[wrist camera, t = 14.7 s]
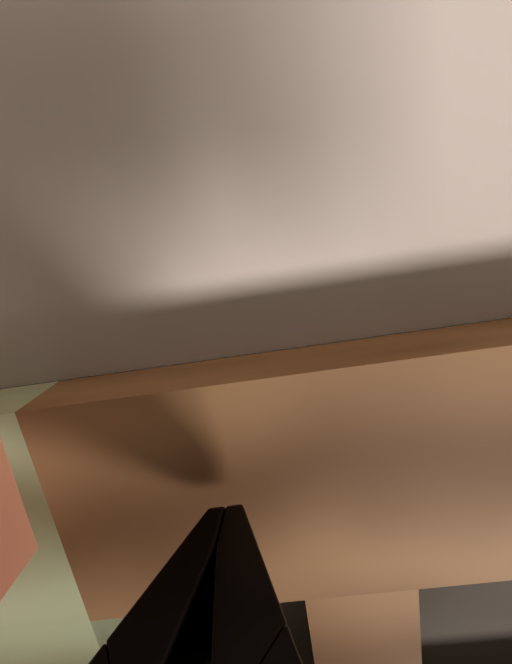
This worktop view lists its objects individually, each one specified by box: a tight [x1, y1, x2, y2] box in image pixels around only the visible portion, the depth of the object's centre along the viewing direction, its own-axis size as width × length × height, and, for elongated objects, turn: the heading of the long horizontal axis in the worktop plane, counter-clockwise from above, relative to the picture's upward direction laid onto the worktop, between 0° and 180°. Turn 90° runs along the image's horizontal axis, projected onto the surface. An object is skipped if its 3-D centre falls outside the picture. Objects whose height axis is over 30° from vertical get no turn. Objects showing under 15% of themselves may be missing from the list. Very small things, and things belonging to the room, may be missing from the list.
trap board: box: [0, 318, 512, 664], centre depth 10 cm, size 14×31×5 cm, turn 99°
